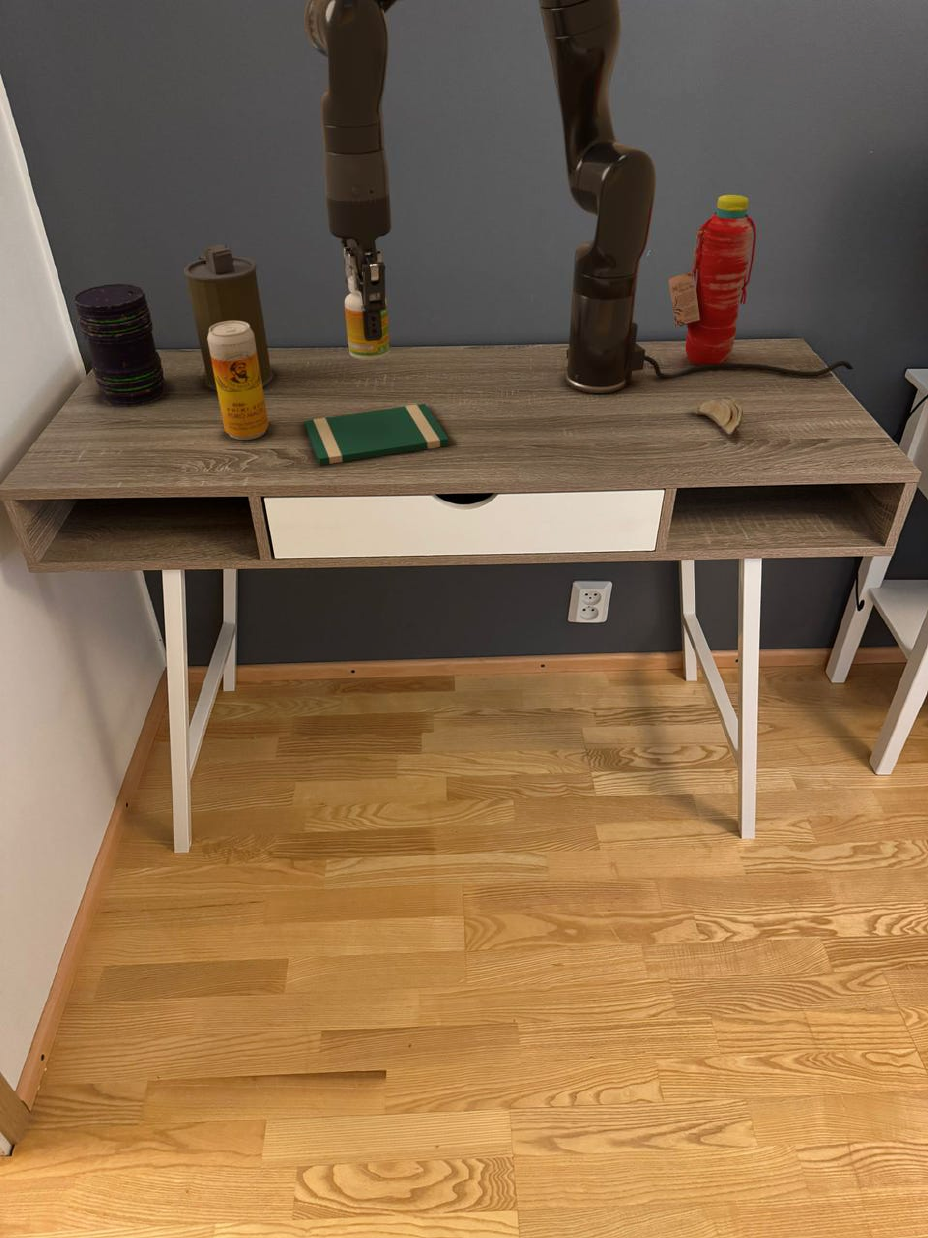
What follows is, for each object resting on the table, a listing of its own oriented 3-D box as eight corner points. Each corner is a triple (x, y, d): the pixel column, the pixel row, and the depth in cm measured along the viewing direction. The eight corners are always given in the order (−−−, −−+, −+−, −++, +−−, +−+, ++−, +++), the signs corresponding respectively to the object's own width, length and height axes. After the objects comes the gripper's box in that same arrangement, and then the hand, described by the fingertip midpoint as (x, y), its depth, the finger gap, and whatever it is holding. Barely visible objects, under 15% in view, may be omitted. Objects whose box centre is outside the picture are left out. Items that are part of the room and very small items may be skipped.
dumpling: (702, 448, 130) (751, 438, 121) (683, 437, 128) (732, 426, 119) (714, 412, 130) (764, 399, 121) (696, 400, 129) (745, 386, 120)
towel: (425, 409, 131) (425, 402, 130) (449, 445, 122) (449, 438, 121) (304, 426, 127) (303, 420, 126) (319, 465, 118) (319, 458, 117)
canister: (284, 382, 139) (265, 249, 126) (221, 399, 134) (195, 262, 122) (255, 360, 146) (235, 232, 133) (195, 375, 141) (168, 244, 129)
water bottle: (665, 372, 141) (689, 203, 125) (655, 353, 147) (677, 190, 132) (740, 371, 141) (773, 202, 125) (727, 351, 147) (757, 189, 132)
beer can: (232, 445, 122) (212, 339, 113) (220, 427, 126) (200, 324, 117) (274, 435, 124) (258, 330, 115) (261, 419, 129) (245, 316, 119)
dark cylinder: (104, 411, 131) (76, 310, 122) (97, 386, 138) (69, 289, 129) (172, 399, 134) (150, 300, 125) (162, 375, 141) (140, 280, 132)
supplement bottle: (383, 362, 114) (378, 286, 108) (343, 359, 115) (336, 283, 109) (394, 346, 118) (390, 272, 112) (356, 344, 119) (349, 270, 113)
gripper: (403, 202, 100) (410, 347, 110) (374, 174, 111) (383, 310, 121) (338, 207, 98) (351, 355, 109) (315, 179, 109) (329, 316, 119)
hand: (367, 330), depth 115 cm, fingers closed on supplement bottle, 5 cm apart
